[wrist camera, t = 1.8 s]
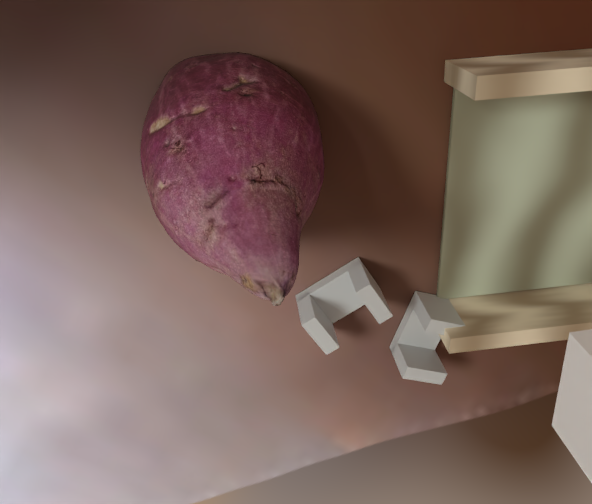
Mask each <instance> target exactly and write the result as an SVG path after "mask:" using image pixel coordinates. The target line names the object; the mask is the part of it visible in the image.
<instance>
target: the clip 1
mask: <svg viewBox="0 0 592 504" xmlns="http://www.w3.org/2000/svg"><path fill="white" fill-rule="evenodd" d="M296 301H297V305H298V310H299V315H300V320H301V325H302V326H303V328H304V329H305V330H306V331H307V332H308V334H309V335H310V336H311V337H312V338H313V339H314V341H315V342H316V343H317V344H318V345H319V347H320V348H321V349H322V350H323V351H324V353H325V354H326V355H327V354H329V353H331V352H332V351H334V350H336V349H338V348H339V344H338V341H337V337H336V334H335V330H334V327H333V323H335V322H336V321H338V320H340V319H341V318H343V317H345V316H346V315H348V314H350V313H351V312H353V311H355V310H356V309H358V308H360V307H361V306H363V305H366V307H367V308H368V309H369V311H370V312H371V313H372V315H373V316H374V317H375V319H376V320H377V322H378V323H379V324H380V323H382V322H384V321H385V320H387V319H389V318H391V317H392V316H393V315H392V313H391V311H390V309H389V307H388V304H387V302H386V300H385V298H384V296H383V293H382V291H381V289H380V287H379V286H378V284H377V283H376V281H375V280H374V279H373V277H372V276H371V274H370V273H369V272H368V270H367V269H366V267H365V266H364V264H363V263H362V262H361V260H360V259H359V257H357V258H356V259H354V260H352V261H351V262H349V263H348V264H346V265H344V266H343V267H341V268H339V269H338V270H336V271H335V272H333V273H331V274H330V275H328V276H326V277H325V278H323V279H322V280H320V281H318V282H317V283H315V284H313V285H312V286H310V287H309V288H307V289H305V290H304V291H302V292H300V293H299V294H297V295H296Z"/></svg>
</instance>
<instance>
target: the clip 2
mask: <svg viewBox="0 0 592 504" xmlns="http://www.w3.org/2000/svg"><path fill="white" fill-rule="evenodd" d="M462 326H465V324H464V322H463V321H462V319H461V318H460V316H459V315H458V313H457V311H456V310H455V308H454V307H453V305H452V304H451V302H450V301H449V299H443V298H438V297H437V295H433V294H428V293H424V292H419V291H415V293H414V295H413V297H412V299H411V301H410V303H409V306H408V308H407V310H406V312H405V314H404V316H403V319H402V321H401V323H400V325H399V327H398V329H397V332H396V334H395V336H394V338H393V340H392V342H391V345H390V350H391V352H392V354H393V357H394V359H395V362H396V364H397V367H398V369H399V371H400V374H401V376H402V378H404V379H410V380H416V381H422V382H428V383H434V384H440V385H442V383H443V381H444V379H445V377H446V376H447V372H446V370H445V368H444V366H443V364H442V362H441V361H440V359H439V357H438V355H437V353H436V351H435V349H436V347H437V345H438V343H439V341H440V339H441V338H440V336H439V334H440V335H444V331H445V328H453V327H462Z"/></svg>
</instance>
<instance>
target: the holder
mask: <svg viewBox="0 0 592 504" xmlns="http://www.w3.org/2000/svg"><path fill="white" fill-rule="evenodd" d="M444 82H445V83H447V84H448V85H450V86H451V87H453V100H452V112H451V124H450V137H449V149H448V161H447V173H446V186H445V198H444V210H443V222H442V235H441V247H440V259H439V271H438V284H437V297H438V298H443V299H449V301H450V302H451V304H452V305H453V307H454V308H455V310H456V311H457V313H458V315H459V316H460V318H461V319H462V321H463V322H464V324H465V326H462V327H453V328H445V331H444V335H440V334H439V336H440V338H441V340H442V342H443V343H444V345H445V347H446V349H447V351H448V352H449V354H451V353H459V352H468V351H476V350H485V349H493V348H501V347H510V346H518V345H527V344H535V343H543V342H552V341H560V340H568V337H569V332H576V331H582V330H589V329H592V48H591V49H579V50H566V51H553V52H541V53H528V54H516V55H503V56H491V57H478V58H465V59H453V60H445V73H444Z"/></svg>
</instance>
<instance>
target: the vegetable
mask: <svg viewBox="0 0 592 504" xmlns="http://www.w3.org/2000/svg"><path fill="white" fill-rule="evenodd" d="M141 164H142V171H143V177H144V180H145V184H146V187H147V190H148V193H149V196H150V199H151V203H152V206H153V209H154V211H155V214H156V216H157V218H158V219H159V221H160V223H161V224H162V225H163V227H164V228H165V230H166V232H167V233H168V235H169V236H170V237H171V238H172V240H173V241H174V242H175V243H176V244H177V245H178V246H179V247H180V248H181V249H183V250H184V251H185V252H186V253H188V254H189V255H190V256H191V257H192V258H194V259H195V260H196V261H199V262H201V263H203V264H205V265H206V266H208V267H210V268H211V269H213V270H215V271H217V272H220V273H222V274H225V275H228V276H230V277H231V278H232V279H234V280H235V281H236V282H238V283H239V284H240V285H242V286H243V287H244V288H246V289H247V290H248V291H250V292H251V293H252V294H254V295H256V296H258V297H260V298H261V299H266V300H271V303H272V305H274V306H278V305H281V302H282V301H283V300H284V297H285V296H286V295H287V294H288V293H289V292H290V290H291V288H292V287H293V284H294V282H295V279H296V275H297V272H298V266H299V246H300V245H299V241H300V234H301V230H302V228H303V226H304V225H305V223H306V221H307V220H308V218H309V217H310V215H311V213H312V211H313V209H314V207H315V204H316V202H317V199H318V197H319V193H320V190H321V186H322V183H323V178H324V153H323V145H322V138H321V132H320V127H319V123H318V118H317V113H316V111H315V109H314V106H313V104H312V102H311V100H310V98H309V96H308V94H307V92H306V91H305V89H304V88H303V87H302V86H301V85H300V84H299V83H298V82H297V81H296V80H295V79H294V78H293V77H292V76H290V75H289V74H288V73H287V72H286V71H285V70H282V69H281V68H279V67H277V66H276V65H274V64H272V63H270V62H268V61H266V60H264V59H261V58H259V57H257V56H253V55H250V54H246V53H239V52H237V53H223V54H209V55H202V56H196V57H191V58H188V59H185V60H183V61H181V62H179V63H178V64H176V65H175V66H174V67H172V69H170V70H169V72H168V73H167V74H166V76H165V78H164V80H163V81H162V83H161V85H160V87H159V89H158V91H157V92H156V94H155V96H154V98H153V100H152V102H151V104H150V107H149V110H148V113H147V115H146V119H145V122H144V126H143V131H142V140H141Z"/></svg>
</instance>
